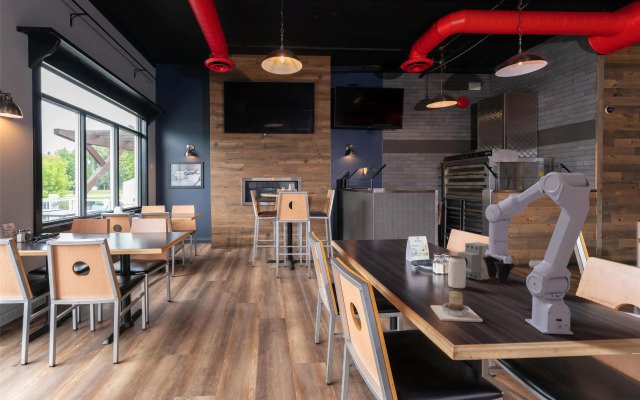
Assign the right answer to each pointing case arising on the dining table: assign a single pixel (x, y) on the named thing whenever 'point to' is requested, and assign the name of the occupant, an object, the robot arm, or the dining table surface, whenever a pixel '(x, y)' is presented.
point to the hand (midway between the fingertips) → (497, 280)
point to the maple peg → (455, 300)
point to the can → (457, 272)
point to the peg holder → (455, 313)
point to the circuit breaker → (475, 260)
